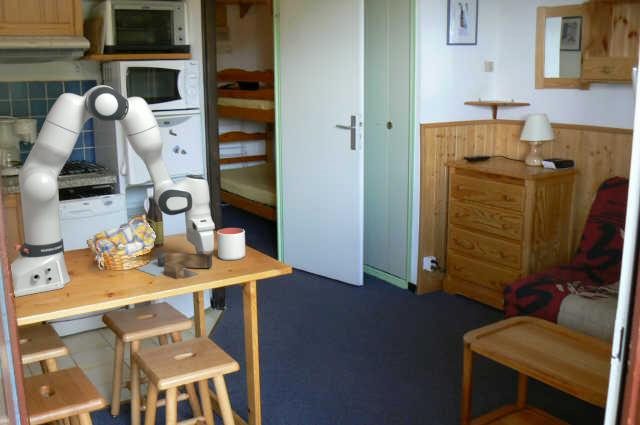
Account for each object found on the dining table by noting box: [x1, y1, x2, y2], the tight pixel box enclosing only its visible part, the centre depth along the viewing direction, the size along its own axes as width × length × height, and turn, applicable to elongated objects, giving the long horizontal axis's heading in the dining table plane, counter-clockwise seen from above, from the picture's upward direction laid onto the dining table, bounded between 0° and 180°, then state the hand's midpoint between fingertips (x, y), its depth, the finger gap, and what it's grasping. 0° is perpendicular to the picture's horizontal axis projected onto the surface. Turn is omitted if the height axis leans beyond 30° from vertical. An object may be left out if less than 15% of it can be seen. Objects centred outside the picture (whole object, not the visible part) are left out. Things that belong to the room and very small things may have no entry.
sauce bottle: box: [145, 195, 165, 248], centre depth 273 cm, size 6×6×20 cm
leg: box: [156, 250, 213, 269], centre depth 247 cm, size 19×4×5 cm, turn 83°
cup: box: [216, 227, 246, 261], centre depth 258 cm, size 10×10×10 cm
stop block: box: [164, 262, 199, 280], centre depth 239 cm, size 8×8×4 cm
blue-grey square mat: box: [135, 259, 191, 277], centre depth 249 cm, size 16×16×1 cm
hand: (200, 258), depth 250 cm, fingers closed
